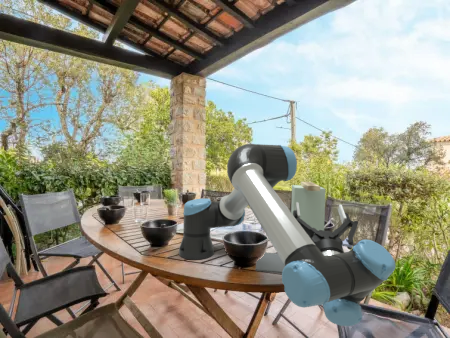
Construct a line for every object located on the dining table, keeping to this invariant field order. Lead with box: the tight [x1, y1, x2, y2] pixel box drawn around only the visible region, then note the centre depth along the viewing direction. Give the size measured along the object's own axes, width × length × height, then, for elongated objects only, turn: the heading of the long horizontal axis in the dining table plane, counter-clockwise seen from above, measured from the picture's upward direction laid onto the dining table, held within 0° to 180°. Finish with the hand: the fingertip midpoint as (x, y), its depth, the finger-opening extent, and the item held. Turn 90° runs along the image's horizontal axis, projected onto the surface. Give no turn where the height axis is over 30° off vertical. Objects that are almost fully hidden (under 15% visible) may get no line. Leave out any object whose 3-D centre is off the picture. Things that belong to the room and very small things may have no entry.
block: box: [300, 181, 321, 191], centre depth 101 cm, size 4×21×2 cm, turn 169°
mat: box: [255, 252, 285, 274], centre depth 98 cm, size 14×18×1 cm
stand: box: [290, 184, 326, 236], centre depth 106 cm, size 13×14×30 cm
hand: (318, 206), depth 82 cm, fingers open, 13 cm apart
